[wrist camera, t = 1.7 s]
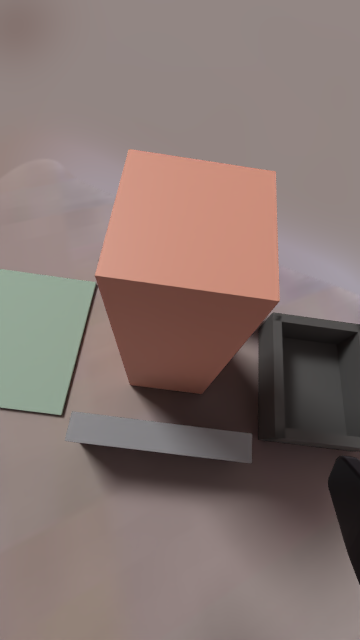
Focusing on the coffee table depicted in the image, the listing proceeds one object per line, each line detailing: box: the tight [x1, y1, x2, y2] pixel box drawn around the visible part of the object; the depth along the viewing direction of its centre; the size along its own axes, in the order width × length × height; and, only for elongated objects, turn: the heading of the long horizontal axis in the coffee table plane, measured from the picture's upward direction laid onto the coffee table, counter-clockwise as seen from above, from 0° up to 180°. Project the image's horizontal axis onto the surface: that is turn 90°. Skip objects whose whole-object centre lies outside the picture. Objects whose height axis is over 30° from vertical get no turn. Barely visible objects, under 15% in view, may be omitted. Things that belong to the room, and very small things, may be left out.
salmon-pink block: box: [95, 149, 280, 394], centre depth 15 cm, size 5×5×14 cm
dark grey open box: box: [258, 313, 360, 451], centre depth 20 cm, size 8×6×3 cm
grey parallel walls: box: [65, 411, 252, 463], centre depth 20 cm, size 12×10×4 cm
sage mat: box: [0, 269, 96, 415], centre depth 21 cm, size 10×9×1 cm
